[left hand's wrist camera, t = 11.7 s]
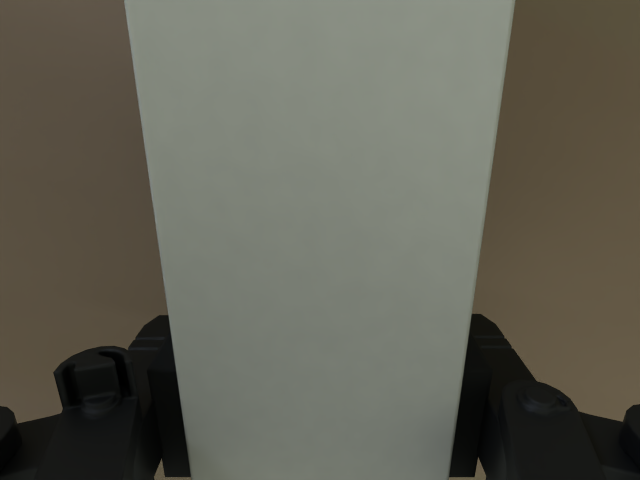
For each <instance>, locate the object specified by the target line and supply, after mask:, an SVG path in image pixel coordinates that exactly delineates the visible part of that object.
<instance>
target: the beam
mask: <svg viewBox="0 0 640 480" xmlns="http://www.w3.org/2000/svg"><path fill="white" fill-rule="evenodd" d="M124 3H125V10H126V17H127V24H128V31H129V38H130V45H131V52H132V59H133V67H134V74H135V81H136V88H137V95H138V102H139V109H140V116H141V123H142V131H143V138H144V145H145V152H146V159H147V166H148V173H149V180H150V187H151V195H152V202H153V209H154V216H155V223H156V230H157V237H158V244H159V252H160V259H161V266H162V273H163V280H164V287H165V294H166V301H167V308H168V316H169V323H170V330H171V337H172V344H173V351H174V358H175V365H176V372H177V380H178V387H179V394H180V401H181V408H182V415H183V422H184V429H185V436H186V444H187V451H188V458H189V465H190V472H191V479H192V480H448V479H449V472H450V465H451V458H452V451H453V444H454V436H455V429H456V422H457V415H458V408H459V401H460V393H461V386H462V379H463V372H464V365H465V358H466V350H467V343H468V336H469V329H470V322H471V315H472V307H473V300H474V293H475V286H476V279H477V272H478V264H479V257H480V250H481V243H482V236H483V228H484V221H485V214H486V207H487V200H488V193H489V185H490V178H491V171H492V164H493V157H494V150H495V142H496V135H497V128H498V121H499V114H500V107H501V99H502V92H503V85H504V78H505V71H506V64H507V56H508V49H509V42H510V35H511V28H512V20H513V13H514V6H515V0H124Z"/></svg>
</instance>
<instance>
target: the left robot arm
mask: <svg viewBox="0 0 640 480" xmlns="http://www.w3.org/2000/svg"><path fill="white" fill-rule="evenodd" d="M53 373H54V377H55V380H56V384H57V388H58V392H59V395H60V399H61V403H62V407H63V410H62V413H60V414H57V415H54V416H50V417H45V418H41V419H36V420H32V421H27V422H23V423H18V424H17V421H16V418H15V415H14V413H13V412H12V411H11V410H10V409H9V408H8V407H2V406H0V480H154V475H155V473H156V470H157V468H158V466H159V463H160V461H161V458H162V462H163V468H164V473H165V477H191V472H190V465H189V458H188V451H187V444H186V436H185V429H184V422H183V415H182V408H181V401H180V394H179V387H178V380H177V372H176V365H175V358H174V351H173V344H172V337H171V330H170V323H169V316H168V315H159V316H157V317H156V318H155V319H153V320H152V321H150V322H149V323H147V324H146V325H144V327H143V328H142V329H141V331H140V332H139V334H138V335H137V336H136V339H135V340H134V341H133V342H132V343H131V345H130V346H129V348H128V350H126V349H125V348H121V347H116V346H101V347H96V348H92V349H88V350H85V351H82V352H80V353H78V354H75V355H73V356H71V357H70V358H68V359H67V360H65V361H64V362H62V363H61V364H60V365H59V366H58V368H57V369H56V370H55V371H54V372H53ZM478 457H479V460H480V462H481V464H482V467H483V469H484V472H485V474H486V480H640V404H639V405H633V406H632V407H630V408H629V409H628V410H627V411H626V414H625V417H624V420H623V422H621V421H616V420H612V419H607V418H603V417H598V416H594V415H589V414H586V413H582V412H579V411H578V410H577V408H576V406H575V405H574V403H573V402H572V401H571V399H570V398H569V397H567V396H566V395H565V394H563V393H562V392H561V391H560V390H558V389H556V388H554V387H551V386H549V385H547V384H545V383H541V382H537V381H536V380H535V378H534V377H533V375H532V374H531V373H530V371H529V370H528V368H527V367H526V366H525V364H524V363H523V362H522V360H521V359H520V357H519V356H518V355H517V353H516V352H515V350H514V349H512V348H511V345H510V343H509V342H508V341H507V339H504V335H503V334H502V332H501V331H500V330H499V328H498V327H497V325H496V324H495V323H493V322H492V321H490V320H489V319H487V318H486V317H484V316H483V315H481V314H472V315H471V322H470V329H469V336H468V343H467V350H466V358H465V365H464V372H463V379H462V386H461V393H460V401H459V408H458V415H457V422H456V429H455V436H454V444H453V451H452V458H451V465H450V472H449V477H475V471H476V466H477V460H478Z"/></svg>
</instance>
